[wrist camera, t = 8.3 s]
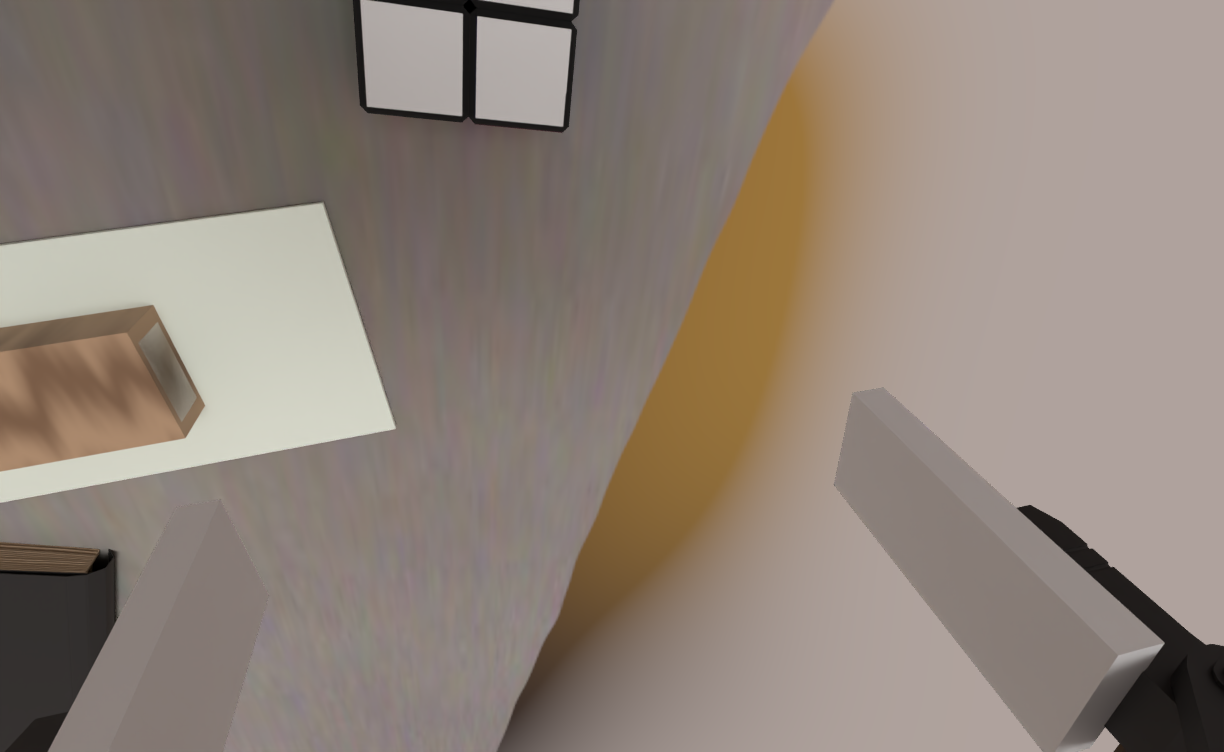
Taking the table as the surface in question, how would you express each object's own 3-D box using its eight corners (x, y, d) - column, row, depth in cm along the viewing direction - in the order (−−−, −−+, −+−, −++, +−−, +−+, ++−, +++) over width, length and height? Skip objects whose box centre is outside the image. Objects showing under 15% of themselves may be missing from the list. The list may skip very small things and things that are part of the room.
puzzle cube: (544, 106, 40) (569, 134, 32) (379, 89, 37) (359, 114, 29) (556, -85, 35) (590, -111, 27) (367, -119, 33) (339, -161, 24)
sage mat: (-224, 273, 35) (-230, 275, 35) (323, 201, 40) (322, 203, 40) (-28, 504, 45) (-31, 508, 45) (396, 425, 49) (395, 428, 49)
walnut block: (153, 305, 40) (-92, 341, 38) (126, 332, 37) (-144, 374, 35) (205, 405, 45) (-14, 443, 43) (185, 438, 41) (-53, 481, 39)
